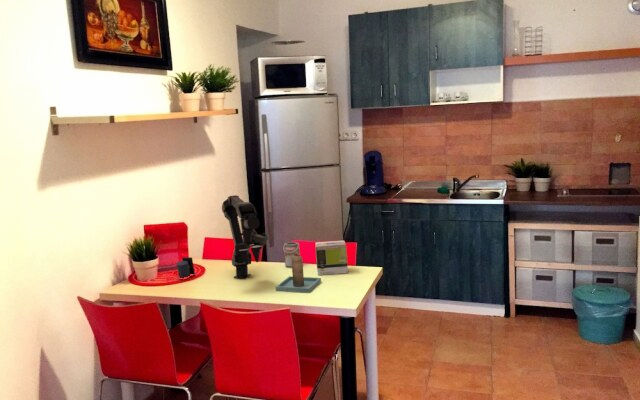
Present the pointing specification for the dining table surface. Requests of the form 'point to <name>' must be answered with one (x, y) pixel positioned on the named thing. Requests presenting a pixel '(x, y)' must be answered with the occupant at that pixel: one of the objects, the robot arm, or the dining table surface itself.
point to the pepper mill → (297, 271)
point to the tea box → (331, 257)
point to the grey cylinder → (290, 252)
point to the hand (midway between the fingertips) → (252, 263)
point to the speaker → (185, 267)
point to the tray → (307, 288)
